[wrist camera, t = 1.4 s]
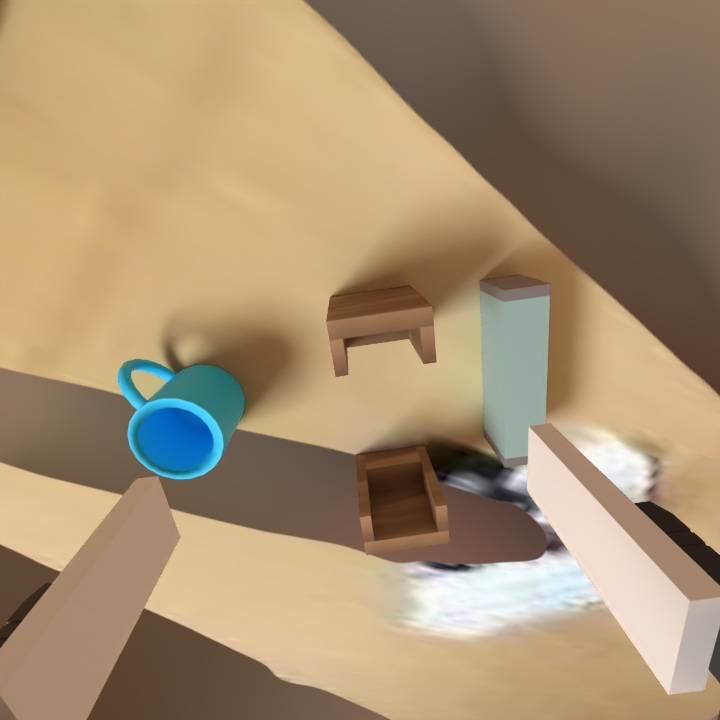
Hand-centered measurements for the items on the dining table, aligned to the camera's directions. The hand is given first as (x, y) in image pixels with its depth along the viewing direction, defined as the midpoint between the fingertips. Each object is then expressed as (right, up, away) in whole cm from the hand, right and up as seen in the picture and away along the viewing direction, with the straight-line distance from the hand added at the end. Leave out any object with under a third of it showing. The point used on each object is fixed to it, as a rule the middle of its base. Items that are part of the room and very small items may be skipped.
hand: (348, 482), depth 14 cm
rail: (+16, +4, +28) cm, 32 cm away
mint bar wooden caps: (+3, 0, +28) cm, 28 cm away
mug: (-17, +1, +27) cm, 32 cm away
